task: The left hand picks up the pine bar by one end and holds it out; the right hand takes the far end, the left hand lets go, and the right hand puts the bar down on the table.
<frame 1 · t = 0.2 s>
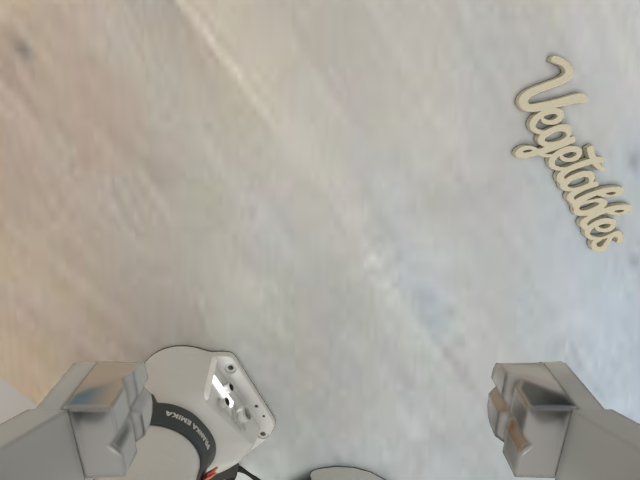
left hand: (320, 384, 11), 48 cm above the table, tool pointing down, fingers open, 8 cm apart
decorative sign: (565, 165, 57), on the table
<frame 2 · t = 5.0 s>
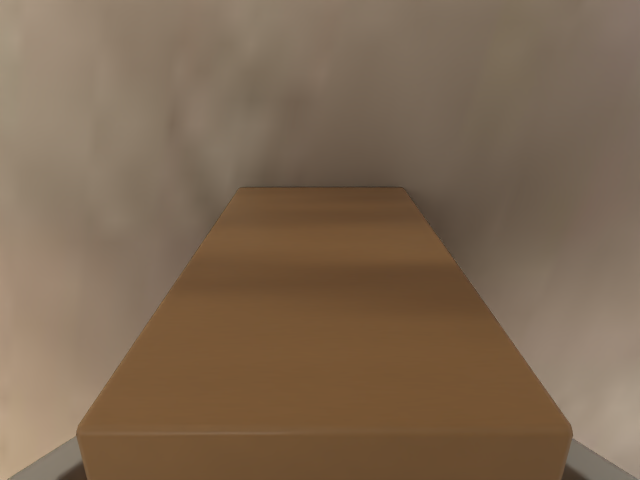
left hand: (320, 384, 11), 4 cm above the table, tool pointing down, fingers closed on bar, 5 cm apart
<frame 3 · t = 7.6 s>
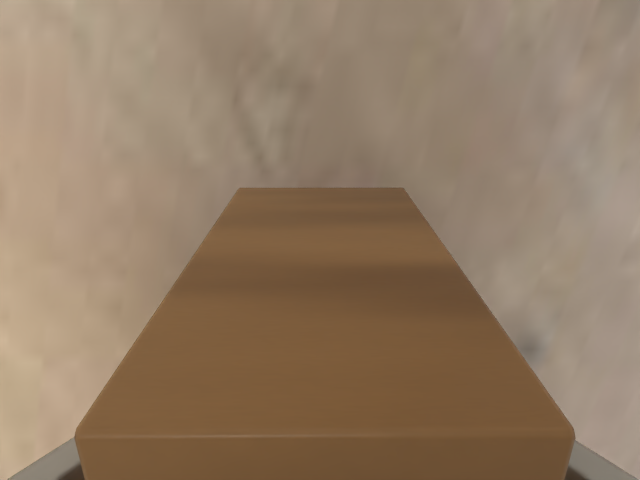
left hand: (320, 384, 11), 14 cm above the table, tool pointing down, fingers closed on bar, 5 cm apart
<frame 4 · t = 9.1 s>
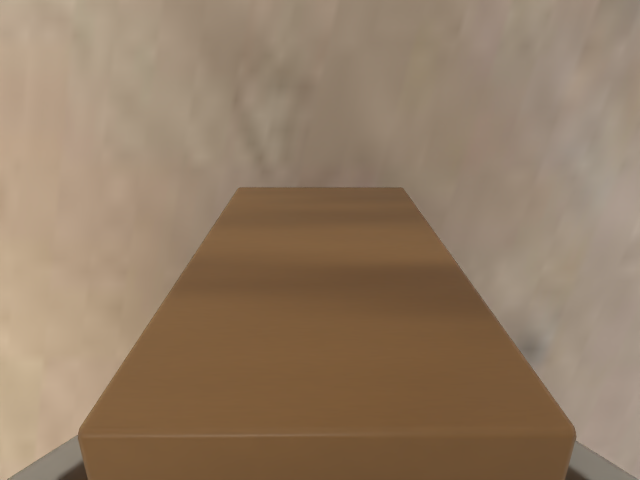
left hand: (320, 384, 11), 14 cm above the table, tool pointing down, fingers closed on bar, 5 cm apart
when the left hand's fingers open (14 cm above the table, at t = 10.2 s): bar stays where it is, held by the right hand.
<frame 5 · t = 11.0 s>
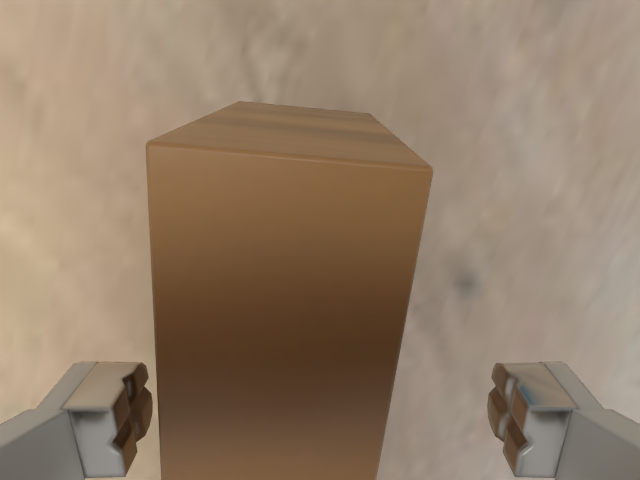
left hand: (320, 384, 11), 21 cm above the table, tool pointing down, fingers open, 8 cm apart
bar: (281, 409, 21), point 13 cm above the table, touching right hand
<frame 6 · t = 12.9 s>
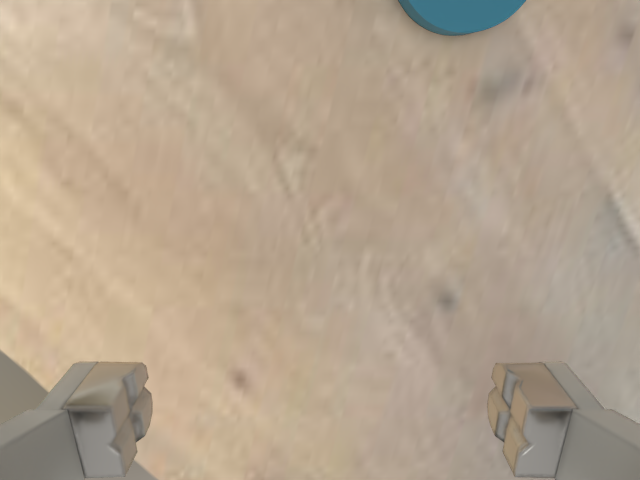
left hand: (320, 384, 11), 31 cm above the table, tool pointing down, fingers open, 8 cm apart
when the right hand's fingers open (6 cm above the table, at t = 17.0 s): bar drops 2 cm, on the table.
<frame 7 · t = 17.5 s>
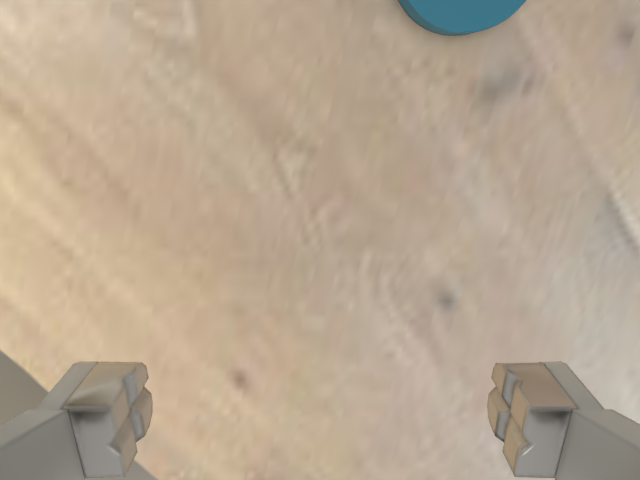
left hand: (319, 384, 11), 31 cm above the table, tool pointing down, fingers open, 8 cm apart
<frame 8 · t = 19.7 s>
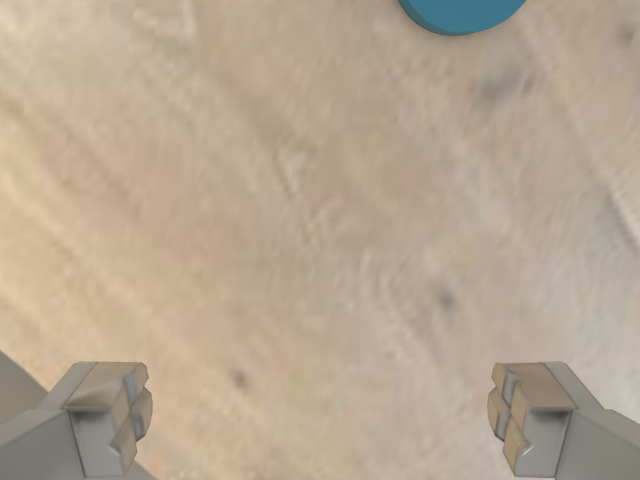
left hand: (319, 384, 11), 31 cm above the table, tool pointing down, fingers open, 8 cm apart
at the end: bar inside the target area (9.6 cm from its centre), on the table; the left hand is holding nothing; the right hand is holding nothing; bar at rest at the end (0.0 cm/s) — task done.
